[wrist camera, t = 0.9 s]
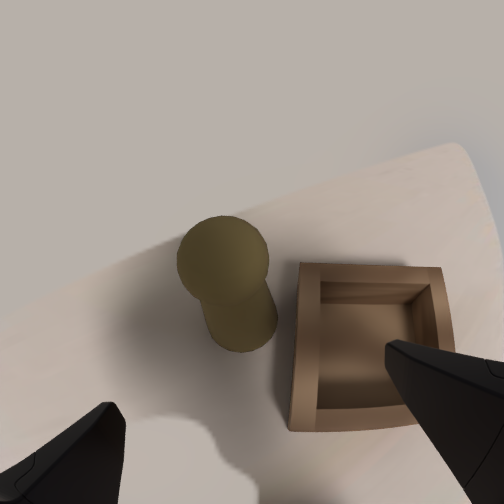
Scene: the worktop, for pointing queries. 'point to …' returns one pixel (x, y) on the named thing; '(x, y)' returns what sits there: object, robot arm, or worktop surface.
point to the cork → (229, 281)
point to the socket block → (360, 342)
